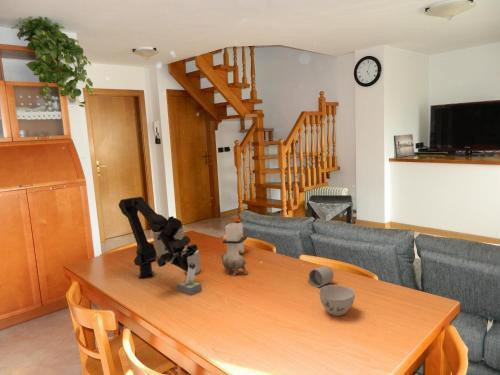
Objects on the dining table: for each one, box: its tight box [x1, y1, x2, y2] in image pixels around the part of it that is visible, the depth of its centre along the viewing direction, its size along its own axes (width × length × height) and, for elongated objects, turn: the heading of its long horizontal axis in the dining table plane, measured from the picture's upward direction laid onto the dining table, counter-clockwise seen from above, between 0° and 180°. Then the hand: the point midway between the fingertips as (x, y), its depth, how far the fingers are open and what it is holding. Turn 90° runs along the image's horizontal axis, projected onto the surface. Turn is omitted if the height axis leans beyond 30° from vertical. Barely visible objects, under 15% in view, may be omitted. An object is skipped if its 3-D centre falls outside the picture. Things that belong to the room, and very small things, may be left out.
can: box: [183, 247, 201, 275], centre depth 187 cm, size 8×8×12 cm
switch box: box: [176, 279, 203, 296], centre depth 166 cm, size 9×6×3 cm, turn 49°
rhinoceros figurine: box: [220, 251, 248, 277], centre depth 184 cm, size 8×14×15 cm
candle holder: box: [222, 222, 248, 255], centre depth 211 cm, size 25×24×16 cm
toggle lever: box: [185, 263, 196, 284], centre depth 163 cm, size 3×3×10 cm
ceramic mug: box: [307, 265, 334, 288], centre depth 165 cm, size 11×8×8 cm
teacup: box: [318, 284, 356, 317], centre depth 140 cm, size 15×12×8 cm
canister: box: [150, 224, 185, 262], centre depth 211 cm, size 18×18×21 cm
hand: (188, 271), depth 164 cm, fingers closed
